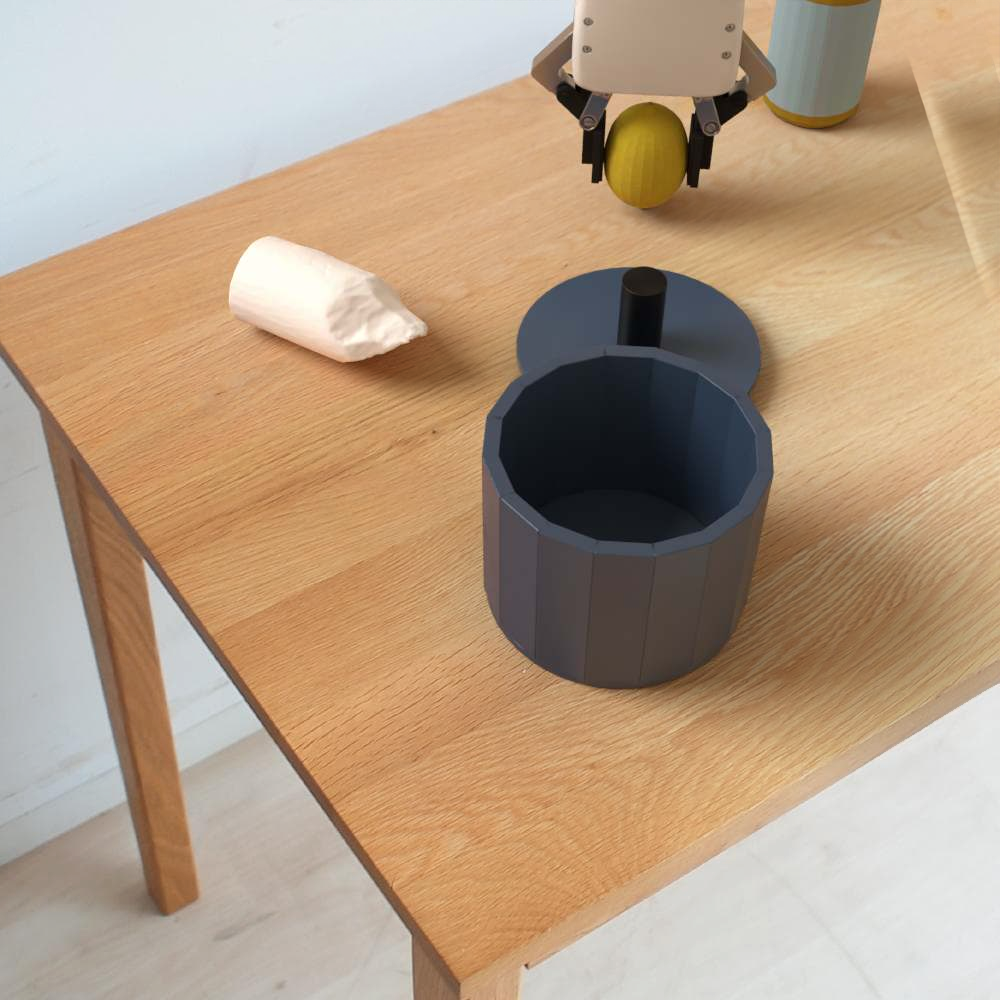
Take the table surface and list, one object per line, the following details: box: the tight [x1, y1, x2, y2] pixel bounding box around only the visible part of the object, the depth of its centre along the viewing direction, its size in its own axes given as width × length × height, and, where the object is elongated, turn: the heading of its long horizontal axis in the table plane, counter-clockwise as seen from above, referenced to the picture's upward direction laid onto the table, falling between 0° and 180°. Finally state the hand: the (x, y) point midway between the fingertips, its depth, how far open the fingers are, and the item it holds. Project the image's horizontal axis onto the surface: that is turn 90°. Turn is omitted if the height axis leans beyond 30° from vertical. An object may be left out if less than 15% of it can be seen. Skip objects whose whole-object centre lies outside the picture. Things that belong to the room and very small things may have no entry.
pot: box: [481, 345, 775, 690], centre depth 72 cm, size 14×14×10 cm
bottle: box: [762, 0, 883, 129], centre depth 99 cm, size 7×7×15 cm
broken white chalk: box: [228, 235, 429, 363], centre depth 86 cm, size 6×12×6 cm, turn 59°
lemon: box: [603, 101, 689, 210], centre depth 94 cm, size 6×6×8 cm
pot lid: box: [515, 265, 762, 396], centre depth 85 cm, size 15×15×6 cm
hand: (644, 170), depth 95 cm, fingers closed on lemon, 5 cm apart
